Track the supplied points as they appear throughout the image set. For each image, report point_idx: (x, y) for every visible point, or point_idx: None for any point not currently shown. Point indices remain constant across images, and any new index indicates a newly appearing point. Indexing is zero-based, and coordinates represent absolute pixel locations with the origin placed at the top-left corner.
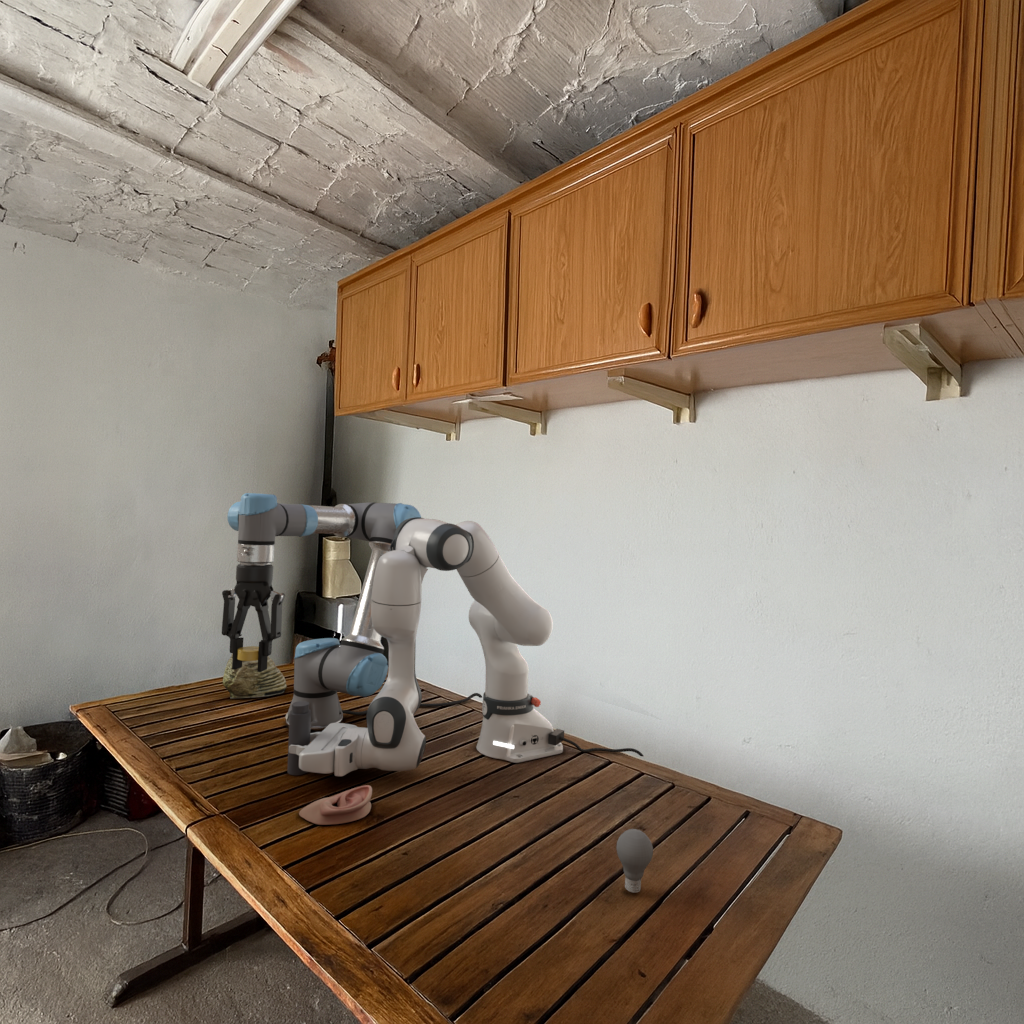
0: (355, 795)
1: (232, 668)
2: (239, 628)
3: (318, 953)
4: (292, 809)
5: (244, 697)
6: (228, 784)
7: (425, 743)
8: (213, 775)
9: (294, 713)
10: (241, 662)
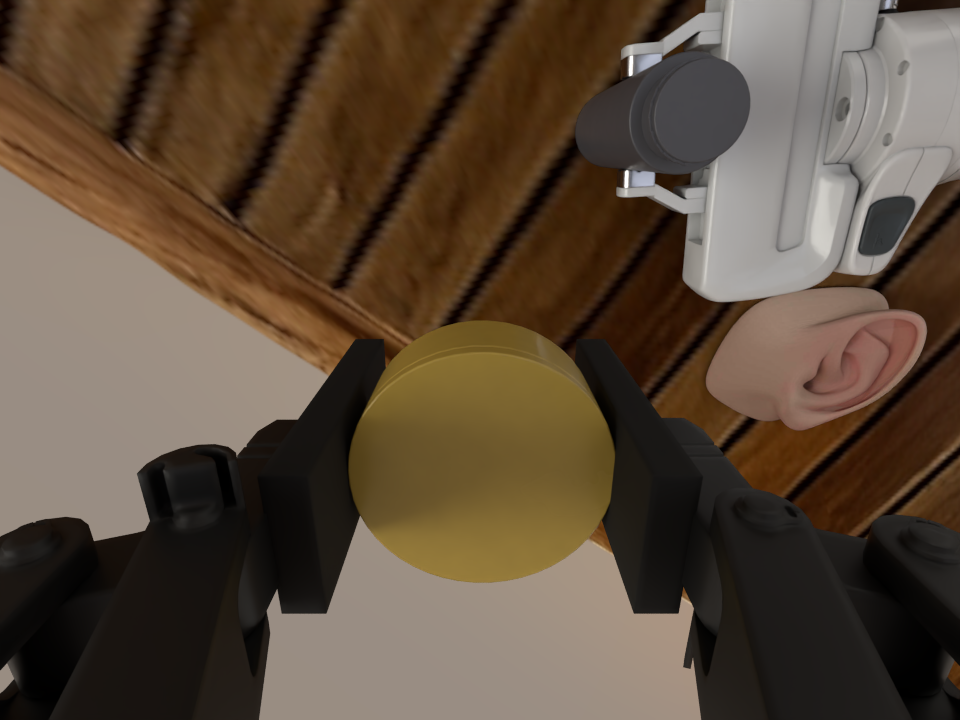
0: (865, 337)
1: None
2: (239, 686)
3: None
4: (679, 361)
5: None
6: (445, 270)
7: None
8: (366, 225)
9: (666, 160)
10: (376, 361)
